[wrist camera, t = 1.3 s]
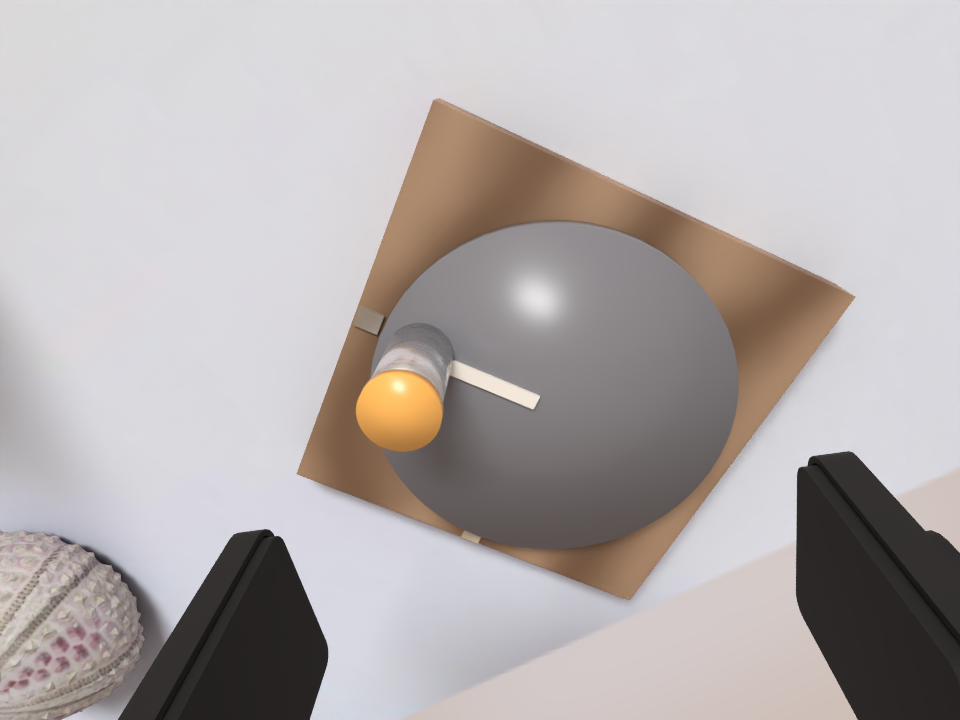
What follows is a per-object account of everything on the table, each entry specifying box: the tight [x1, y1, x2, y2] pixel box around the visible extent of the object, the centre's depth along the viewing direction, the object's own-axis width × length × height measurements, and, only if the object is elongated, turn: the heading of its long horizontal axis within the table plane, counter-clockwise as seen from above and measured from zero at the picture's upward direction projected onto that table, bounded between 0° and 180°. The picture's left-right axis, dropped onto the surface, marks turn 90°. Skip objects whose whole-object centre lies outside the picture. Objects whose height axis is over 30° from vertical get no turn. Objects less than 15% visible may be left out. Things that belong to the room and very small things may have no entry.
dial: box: [356, 220, 739, 549], centre depth 26 cm, size 17×17×7 cm
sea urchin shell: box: [0, 531, 145, 720], centre depth 37 cm, size 13×14×8 cm
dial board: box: [297, 99, 855, 600], centre depth 30 cm, size 20×20×2 cm
